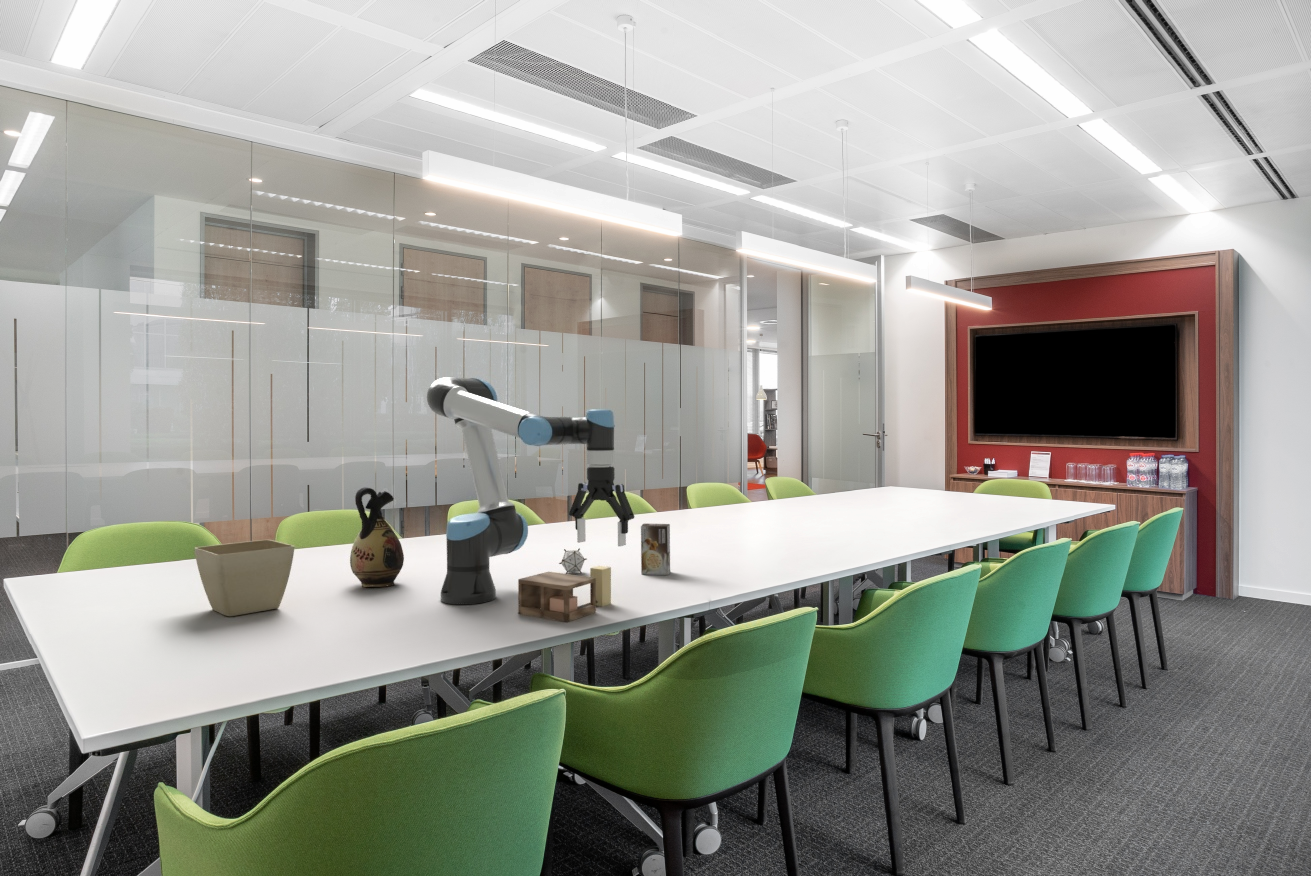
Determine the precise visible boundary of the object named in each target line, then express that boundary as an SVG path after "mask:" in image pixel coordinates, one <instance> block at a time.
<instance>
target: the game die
mask: <svg viewBox="0 0 1311 876" xmlns="http://www.w3.org/2000/svg"><path fill="white" fill-rule="evenodd" d="M580 550H581V549H580V547H579V548H578V550H577V549H575V550H572V549H571V550H566V549H565V548H564V549H563V551H564V554H563V557H562V559H561V561H560V562H559V563H558V564H559V565H562V567H563V568H564V570H565V574H569V573H580V574H582V573H583V572H582V569H583V565H584V563H585V561H587V560H588V558H584V556H583V554H582V553H581V551H580Z"/></svg>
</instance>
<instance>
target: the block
mask: <svg viewBox="0 0 1311 876" xmlns="http://www.w3.org/2000/svg"><path fill="white" fill-rule="evenodd" d="M589 571H590V572H589V574H590V576H589V577H592V578H596V607H597V606H598V607H605V606H608V605H611V604H612V568H611V567H610V566H605V565H604V566H603V565H597V566H593V567H590V569H589ZM589 605H590V602H587V603H585V604H580V605H578V596H577V595H573V596H571V595H569V612H571V611H574V610H577V609H580V608H583V607H586V606H589ZM550 610H552V611H558V612H564V594H561V595H558V596H554V597H551V598H550Z"/></svg>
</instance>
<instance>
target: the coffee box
mask: <svg viewBox="0 0 1311 876" xmlns="http://www.w3.org/2000/svg"><path fill="white" fill-rule="evenodd" d="M670 527H671V524H670V523H642V524H641V525H640V557H641V558H640V562H641V564H640V565H641V566H640V567H641V568H640V570H641V575H648V576H649V575H653V576H654V575H655V576H656V575H657V576H669V575H670V573H671V537H670V536H671V533H670V532H671V530H670V529H671V528H670Z"/></svg>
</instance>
